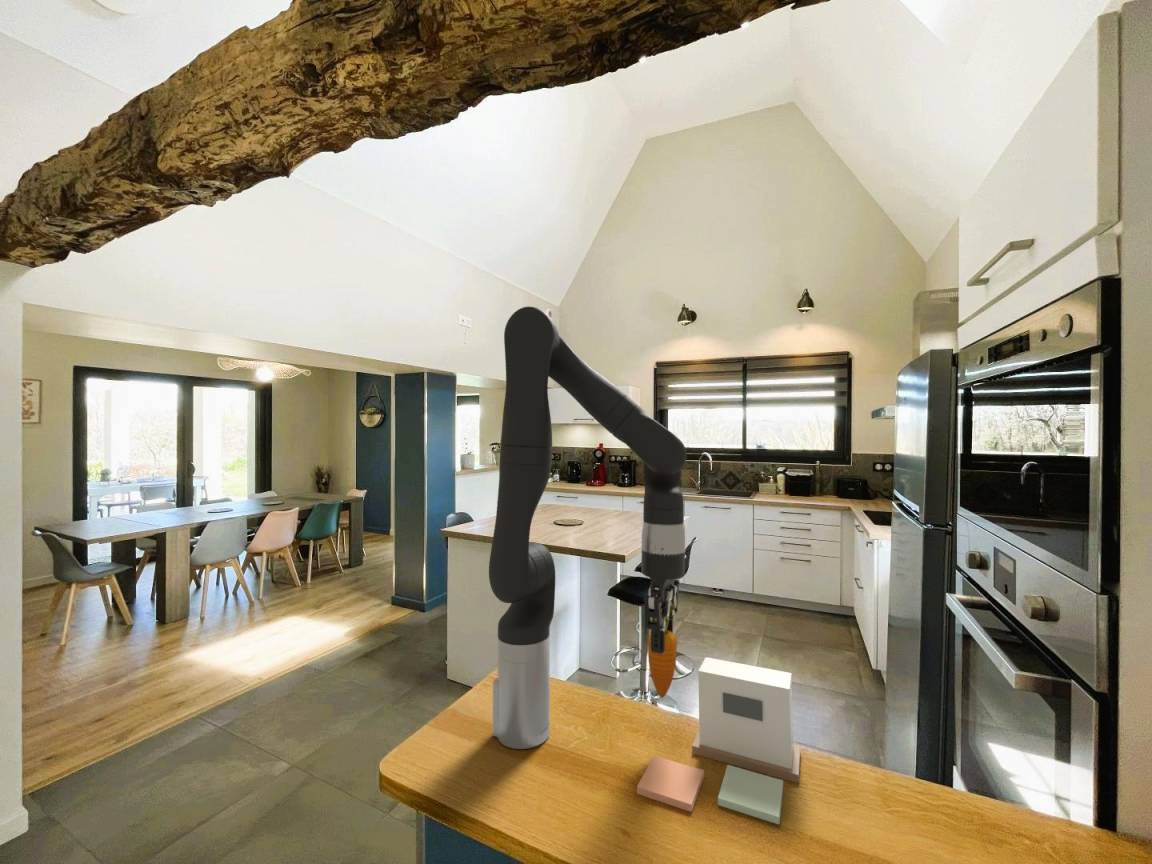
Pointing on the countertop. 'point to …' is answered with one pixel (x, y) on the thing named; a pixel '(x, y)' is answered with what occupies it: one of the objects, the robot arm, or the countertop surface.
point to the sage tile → (751, 794)
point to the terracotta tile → (671, 783)
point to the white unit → (747, 718)
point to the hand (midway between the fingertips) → (662, 645)
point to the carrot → (663, 662)
